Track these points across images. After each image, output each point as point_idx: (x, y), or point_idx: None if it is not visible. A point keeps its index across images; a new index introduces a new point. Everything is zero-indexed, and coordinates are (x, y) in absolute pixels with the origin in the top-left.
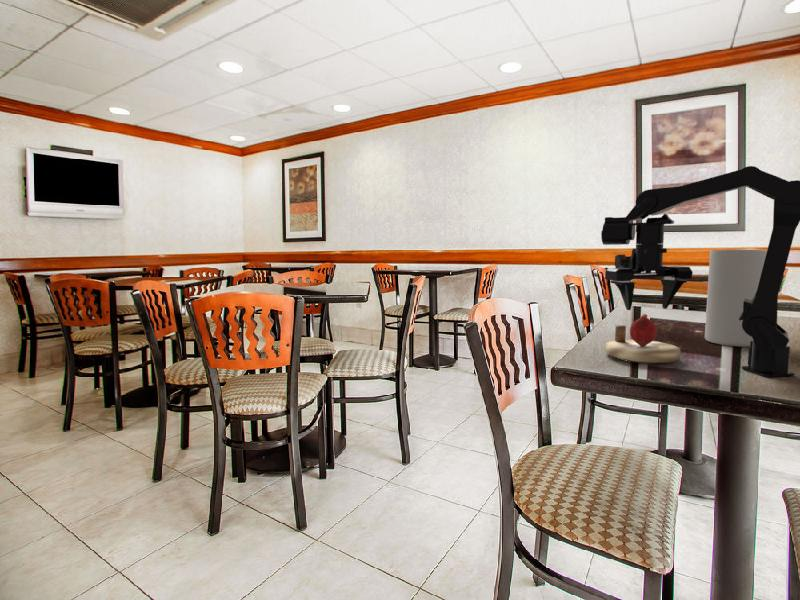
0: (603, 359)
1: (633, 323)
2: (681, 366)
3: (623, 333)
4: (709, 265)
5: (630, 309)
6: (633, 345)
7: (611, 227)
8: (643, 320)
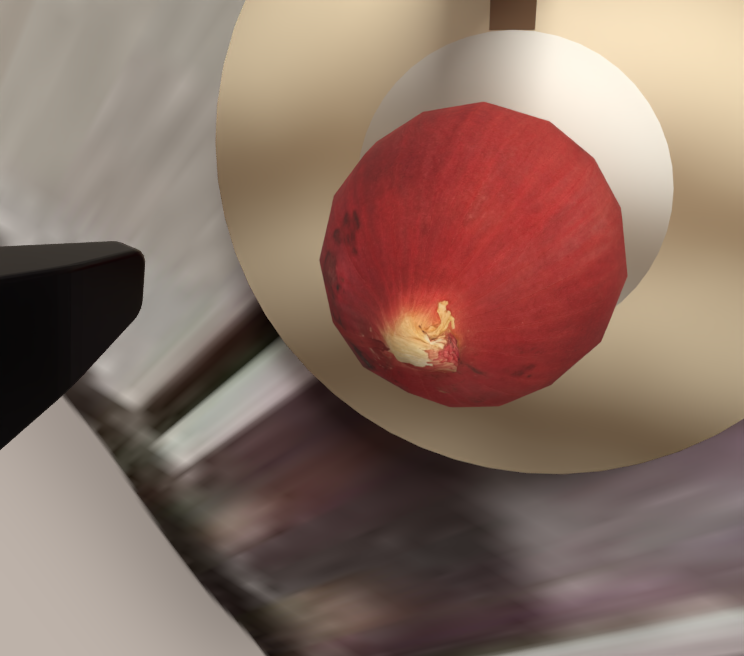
0: (216, 75)
1: (339, 219)
2: None
3: None
4: None
5: (131, 320)
6: None
7: None
8: (366, 356)
